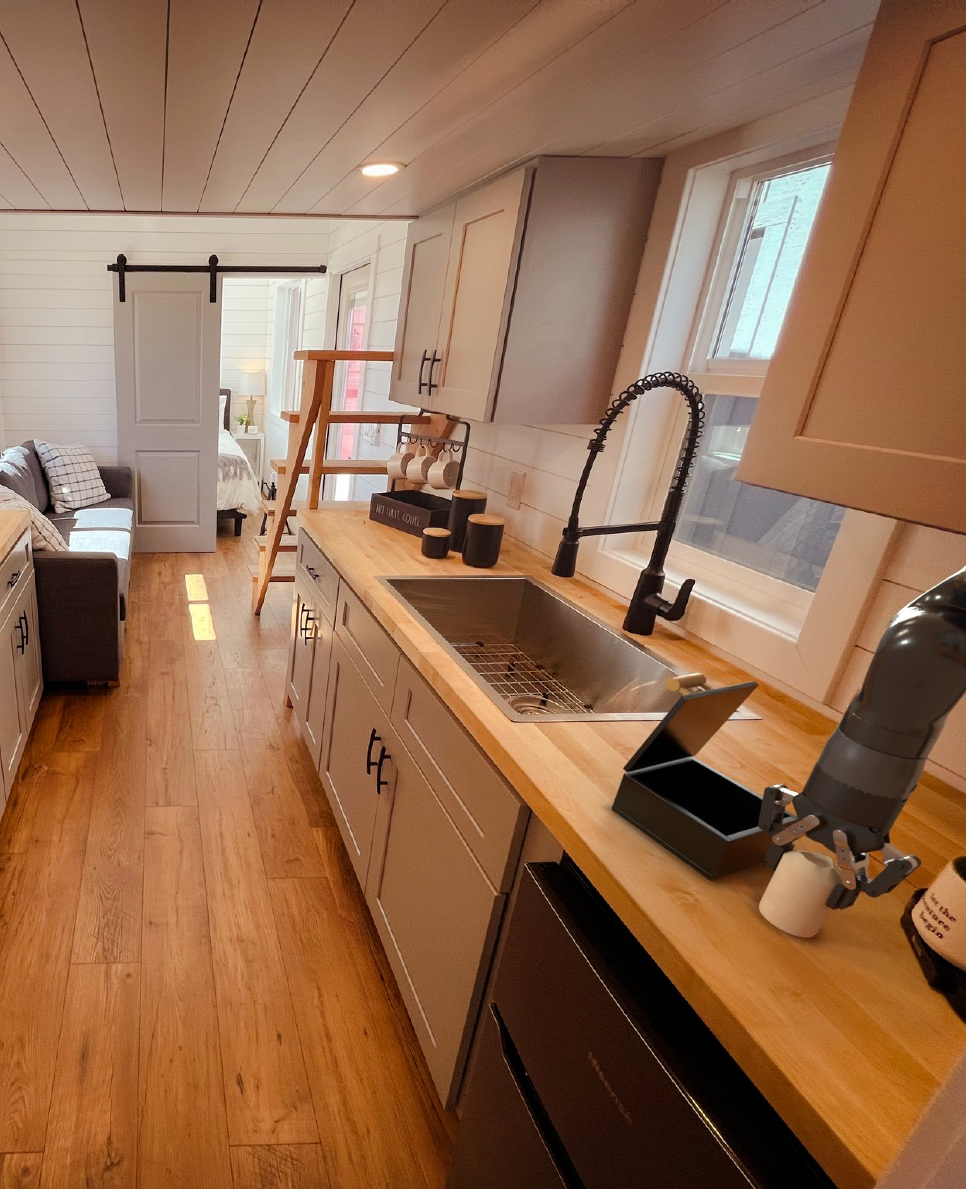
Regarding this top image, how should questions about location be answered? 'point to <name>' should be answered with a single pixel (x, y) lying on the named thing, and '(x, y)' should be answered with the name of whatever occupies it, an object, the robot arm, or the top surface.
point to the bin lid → (689, 720)
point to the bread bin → (697, 815)
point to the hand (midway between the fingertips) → (804, 886)
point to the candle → (800, 892)
